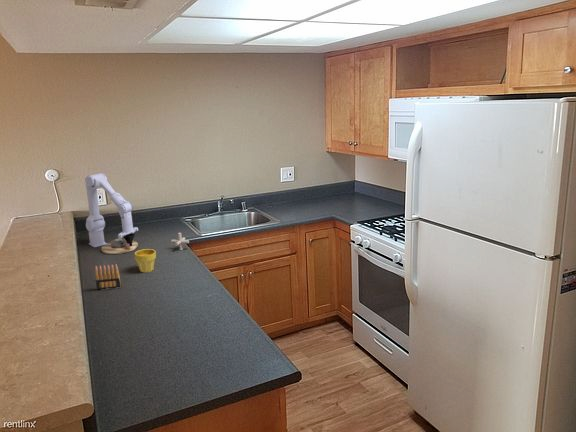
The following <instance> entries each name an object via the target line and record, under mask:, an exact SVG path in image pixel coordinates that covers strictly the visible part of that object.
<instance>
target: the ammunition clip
mask: <svg viewBox="0 0 576 432" xmlns="http://www.w3.org/2000/svg"><path fill="white" fill-rule="evenodd" d="M114 264H115V265H113V264H111V266H110V265H109V264H107V267H106V265H105V264H103V267H102V266H101V265H99V267H98V266H97V265H95V267H94V270H95V271H94V272H95V276H94V277H95V284H96V286H95V287H96V290H97V289H106V288H116V287H121V288H122V282H121V277H120V271H119V268H118V265H117V263H114Z"/></svg>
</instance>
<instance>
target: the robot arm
mask: <svg viewBox="0 0 576 432" xmlns="http://www.w3.org/2000/svg"><path fill="white" fill-rule="evenodd" d="M84 180H85V189H86V195H87V204H88V205H87V206H88V213H89V215H88V217H87V218H86V219H85V228H86V230H87V232H88V236H89V237H88V238H89V243H88V245H90V246H91V247H93V248H97V247H98V248H99V247H102V246H104V245H105V244H108V242H105V235H104V229H105V227H106V221H105V220H104V219H105V218H104V216H103V215H101V214H100V207H99V206H100V205H99V198H98V188H102V189H103V190H104V191H105V192H106V193H107V194H108V195H109V196H110V201H112V203H113V204H114V205H115V206H116V207H117V212H118V213H119V216H120V220H121V228H122V231H121V232H120V233H118V235H117V238H123V239H125V240H126V242H127V243H129V244H130V246H132V242H133V241H134V238H135V236H136V235H135V232H138V231H139V227H137V226H134V225H133V224H134V223H133V216H132V211H133V209H134V205H133V204H132V202H130V201H128V200H126V199H125V198H124V197H123V196H122V195H121V193H119V192H116V191H115V190H114V188H113V187H112V185H111V184H110V183H109V182H108V177H107V176H106V174H105V173H104V172H99V173H95V174H91V175H90V174H89V175H86V177H85V178H84Z"/></svg>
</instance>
